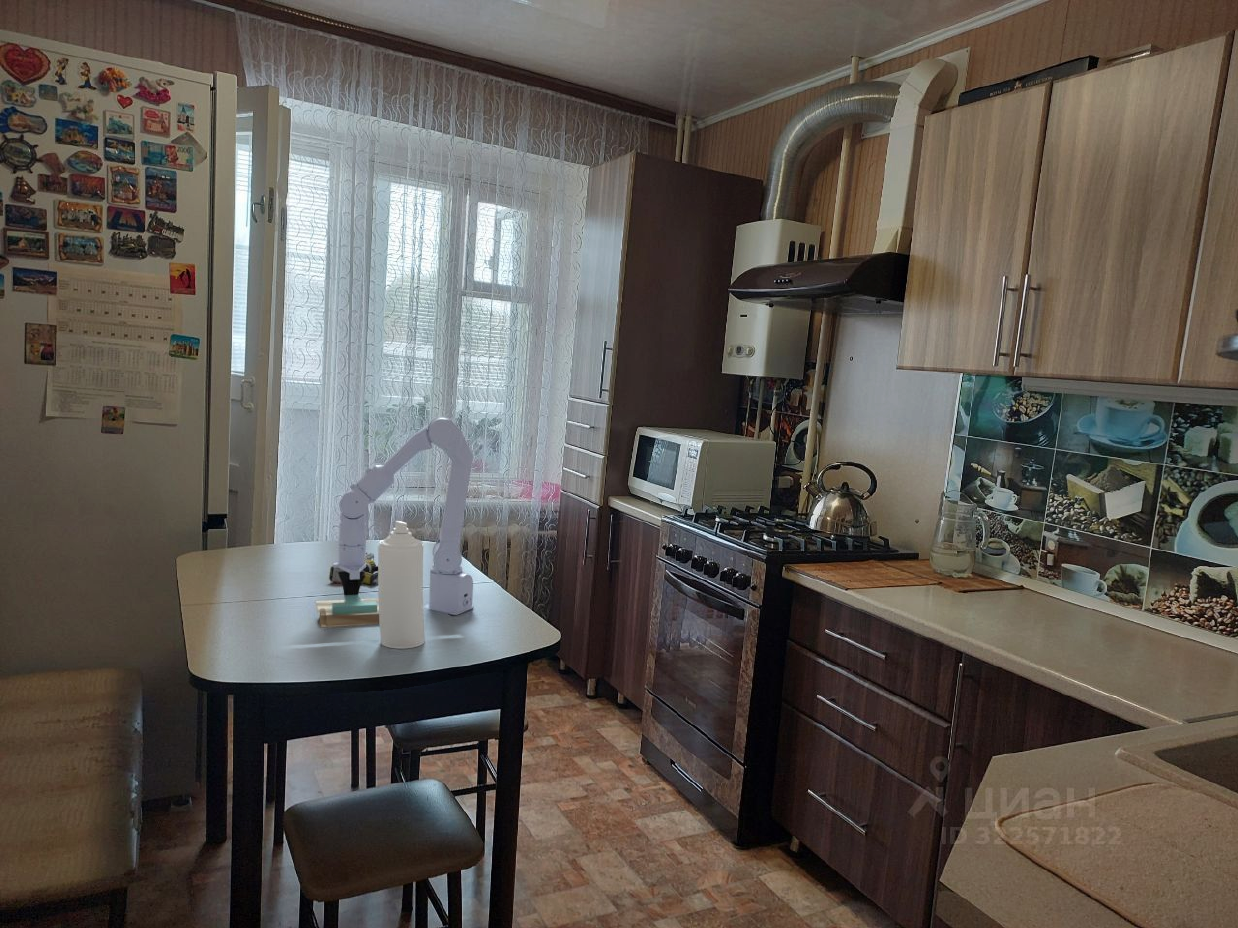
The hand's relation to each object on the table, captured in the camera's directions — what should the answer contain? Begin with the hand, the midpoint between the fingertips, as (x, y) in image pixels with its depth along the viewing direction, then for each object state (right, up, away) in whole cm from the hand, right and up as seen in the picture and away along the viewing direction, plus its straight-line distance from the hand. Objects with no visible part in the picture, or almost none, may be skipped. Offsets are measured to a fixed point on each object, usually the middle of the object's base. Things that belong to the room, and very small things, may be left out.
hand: (350, 603), depth 183 cm
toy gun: (-4, +1, +31) cm, 31 cm away
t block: (+2, -1, -5) cm, 6 cm away
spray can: (+17, -5, -21) cm, 28 cm away
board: (+1, -2, -4) cm, 4 cm away
